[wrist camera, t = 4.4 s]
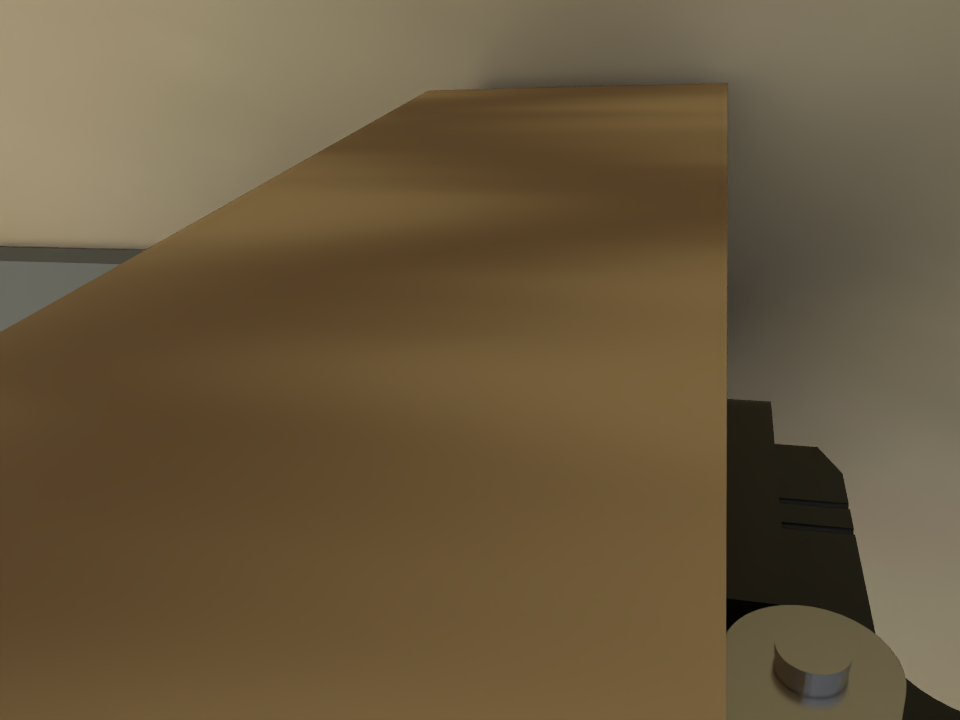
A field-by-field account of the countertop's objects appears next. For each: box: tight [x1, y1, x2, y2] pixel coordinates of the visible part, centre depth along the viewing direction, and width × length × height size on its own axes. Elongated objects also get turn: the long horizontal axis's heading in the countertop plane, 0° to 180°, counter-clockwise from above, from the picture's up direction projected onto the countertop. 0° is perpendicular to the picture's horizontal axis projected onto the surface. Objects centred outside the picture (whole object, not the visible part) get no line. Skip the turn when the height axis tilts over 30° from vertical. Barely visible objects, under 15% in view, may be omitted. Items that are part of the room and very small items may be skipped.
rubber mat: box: [0, 247, 145, 332], centre depth 20 cm, size 10×19×1 cm, turn 3°
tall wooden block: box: [0, 83, 728, 720], centre depth 8 cm, size 4×8×12 cm, turn 4°
